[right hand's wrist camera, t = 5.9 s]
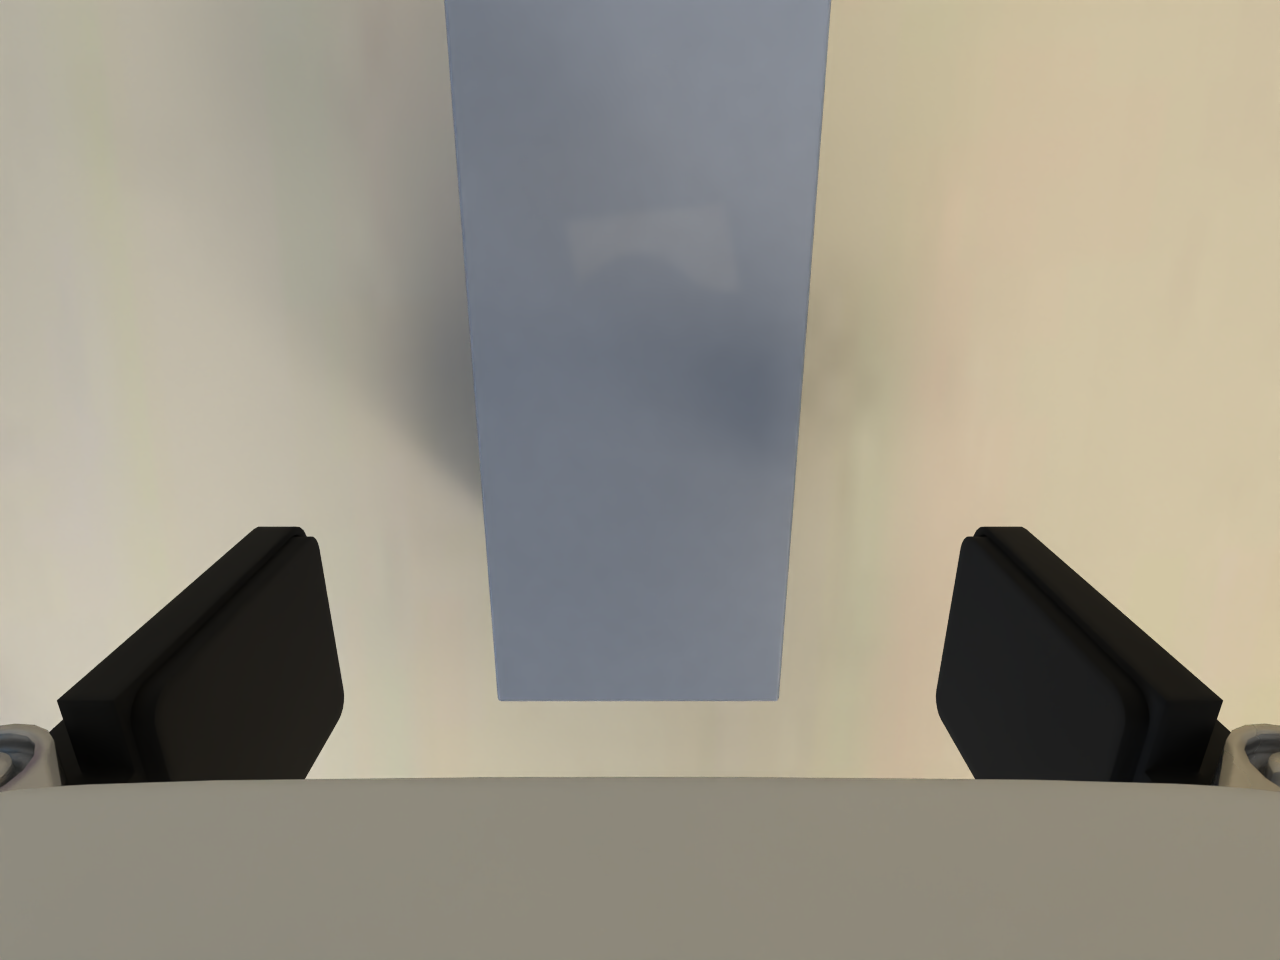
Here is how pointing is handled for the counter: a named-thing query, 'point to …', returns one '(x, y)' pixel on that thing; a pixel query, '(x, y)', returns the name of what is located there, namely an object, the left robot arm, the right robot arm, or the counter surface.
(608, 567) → the blue-grey slab
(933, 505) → the counter surface
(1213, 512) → the counter surface
